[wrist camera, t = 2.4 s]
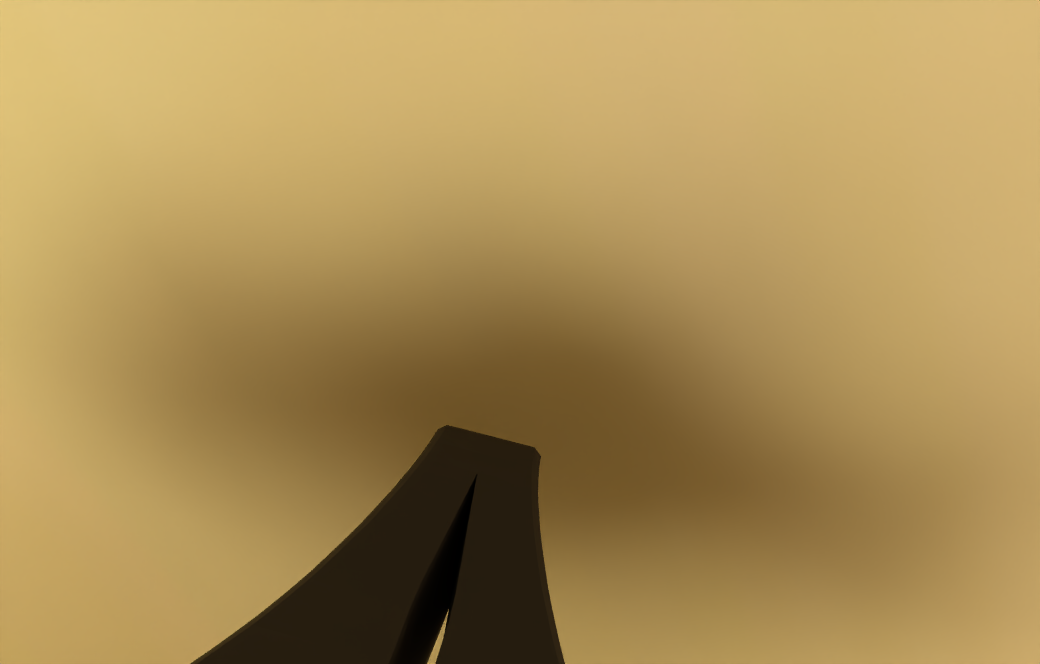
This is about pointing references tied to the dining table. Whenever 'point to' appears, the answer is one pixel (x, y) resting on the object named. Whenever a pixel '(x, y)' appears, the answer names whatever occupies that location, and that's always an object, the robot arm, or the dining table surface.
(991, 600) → the dining table surface
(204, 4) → the dining table surface
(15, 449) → the dining table surface
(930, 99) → the dining table surface
